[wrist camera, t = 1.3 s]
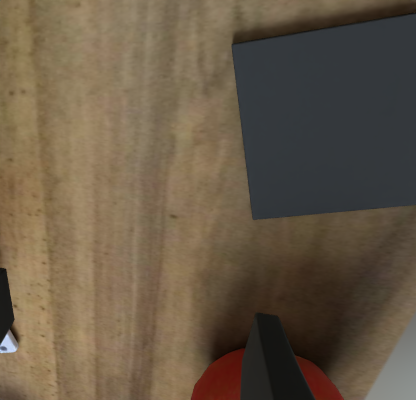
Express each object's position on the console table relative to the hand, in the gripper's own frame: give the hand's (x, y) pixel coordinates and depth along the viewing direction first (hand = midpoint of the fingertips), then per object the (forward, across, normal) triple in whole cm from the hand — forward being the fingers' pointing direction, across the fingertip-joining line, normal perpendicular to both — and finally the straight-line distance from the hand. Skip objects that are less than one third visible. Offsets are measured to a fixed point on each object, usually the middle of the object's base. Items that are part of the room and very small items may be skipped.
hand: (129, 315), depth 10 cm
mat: (+10, -7, -4) cm, 13 cm away
